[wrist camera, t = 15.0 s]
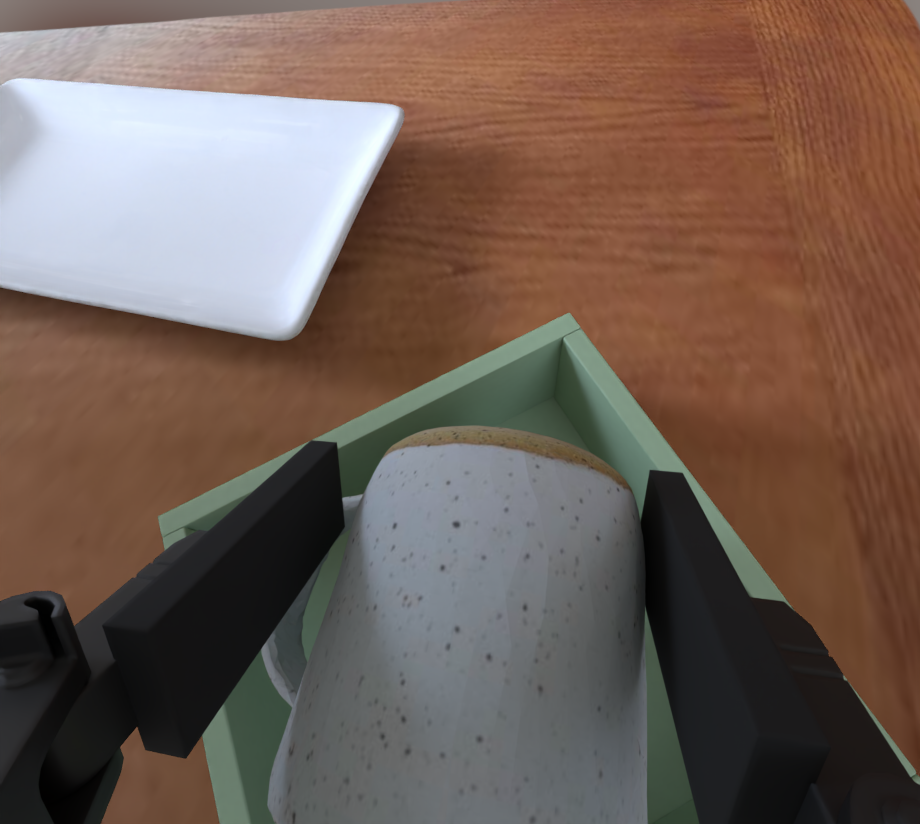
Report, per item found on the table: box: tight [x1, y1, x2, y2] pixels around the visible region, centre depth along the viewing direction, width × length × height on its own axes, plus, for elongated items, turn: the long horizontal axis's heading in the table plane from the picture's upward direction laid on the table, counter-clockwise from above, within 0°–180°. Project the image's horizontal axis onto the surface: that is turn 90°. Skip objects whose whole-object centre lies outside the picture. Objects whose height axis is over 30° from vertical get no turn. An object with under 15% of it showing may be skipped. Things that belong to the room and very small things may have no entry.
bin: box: [158, 313, 920, 824], centre depth 16 cm, size 16×16×6 cm
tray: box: [0, 78, 404, 341], centre depth 29 cm, size 17×31×4 cm, turn 74°
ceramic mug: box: [261, 425, 648, 824], centre depth 12 cm, size 11×8×8 cm
